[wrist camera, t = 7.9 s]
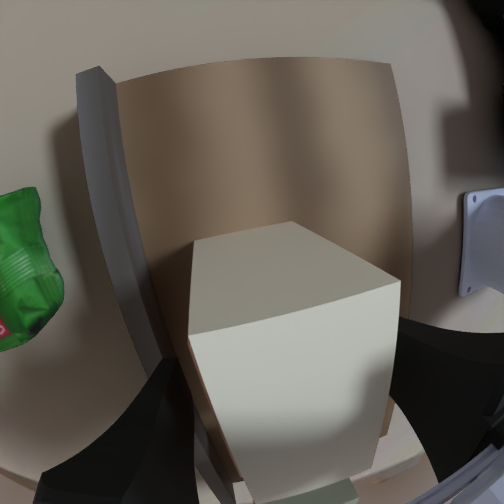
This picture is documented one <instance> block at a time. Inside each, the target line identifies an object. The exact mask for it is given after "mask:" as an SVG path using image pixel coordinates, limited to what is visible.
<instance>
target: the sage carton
mask: <svg viewBox="0 0 504 504" xmlns="http://www.w3.org/2000/svg"><path fill="white" fill-rule="evenodd" d="M358 499H359V496H358V494H357V492H356V490H355V488H354V486H353V485H352V483H351V481H350V479H349V478H346V479H343V480H341V481H338V482H335V483H333V484H330V485H327V486H324V487H321V488H318V489H315V490H312V491H308V492H305V493H302V494H298V495H294V496H291V497H287V498H283V499H279V500H275V501H270V502H266V503H261V504H357V502H358ZM253 502H254V500H253ZM254 504H255V502H254Z"/></svg>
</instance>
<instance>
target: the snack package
mask: <svg viewBox="0 0 504 504" xmlns="http://www.w3.org/2000/svg"><path fill="white" fill-rule="evenodd" d="M40 211H41V202H40V198H39V195H38V192H37V189H36V187H27V188H22V189H20V190H17V191H14V192H11V193H8V194H5V195H1V196H0V352H2V351H5V350H8V349H11V348H14V347H17V346H20V345H22V344H24V343H26V342H28V341H29V340H31V339H32V338H33V337H35V336H36V335H37V334H38V333H39V331H40V330H41V329H42V328H43V327H44V326H45V325H46V324H47V322H48V321H49V320H50V319H51V318H52V317H53V316H54V314H55V313H56V312H57V310H58V309H59V308H60V306H61V305H62V303H63V299H64V282H63V279H62V277H61V274H60V272H59V271H58V269H57V268H56V267H55V265H54V264H53V262H52V260H51V258H50V255H49V251H48V248H47V246H46V243H45V241H44V239H43V234H42V228H41V225H40Z"/></svg>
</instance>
